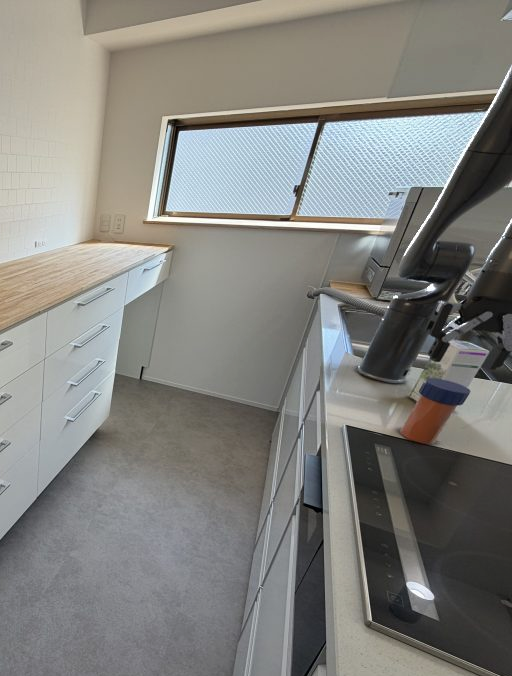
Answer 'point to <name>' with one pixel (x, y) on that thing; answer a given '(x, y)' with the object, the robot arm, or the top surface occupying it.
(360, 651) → the top surface
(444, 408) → the jam jar
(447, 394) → the jar lid
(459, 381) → the syrup box
